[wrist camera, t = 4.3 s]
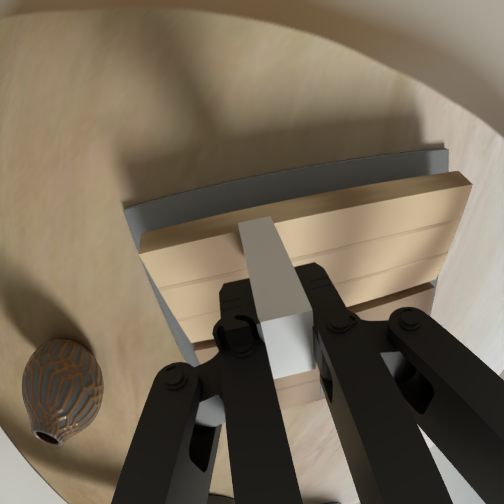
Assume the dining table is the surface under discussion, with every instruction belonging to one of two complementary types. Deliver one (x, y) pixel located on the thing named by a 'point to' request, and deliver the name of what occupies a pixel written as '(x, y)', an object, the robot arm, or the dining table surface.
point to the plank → (314, 244)
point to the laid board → (308, 383)
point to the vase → (61, 390)
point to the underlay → (273, 201)
